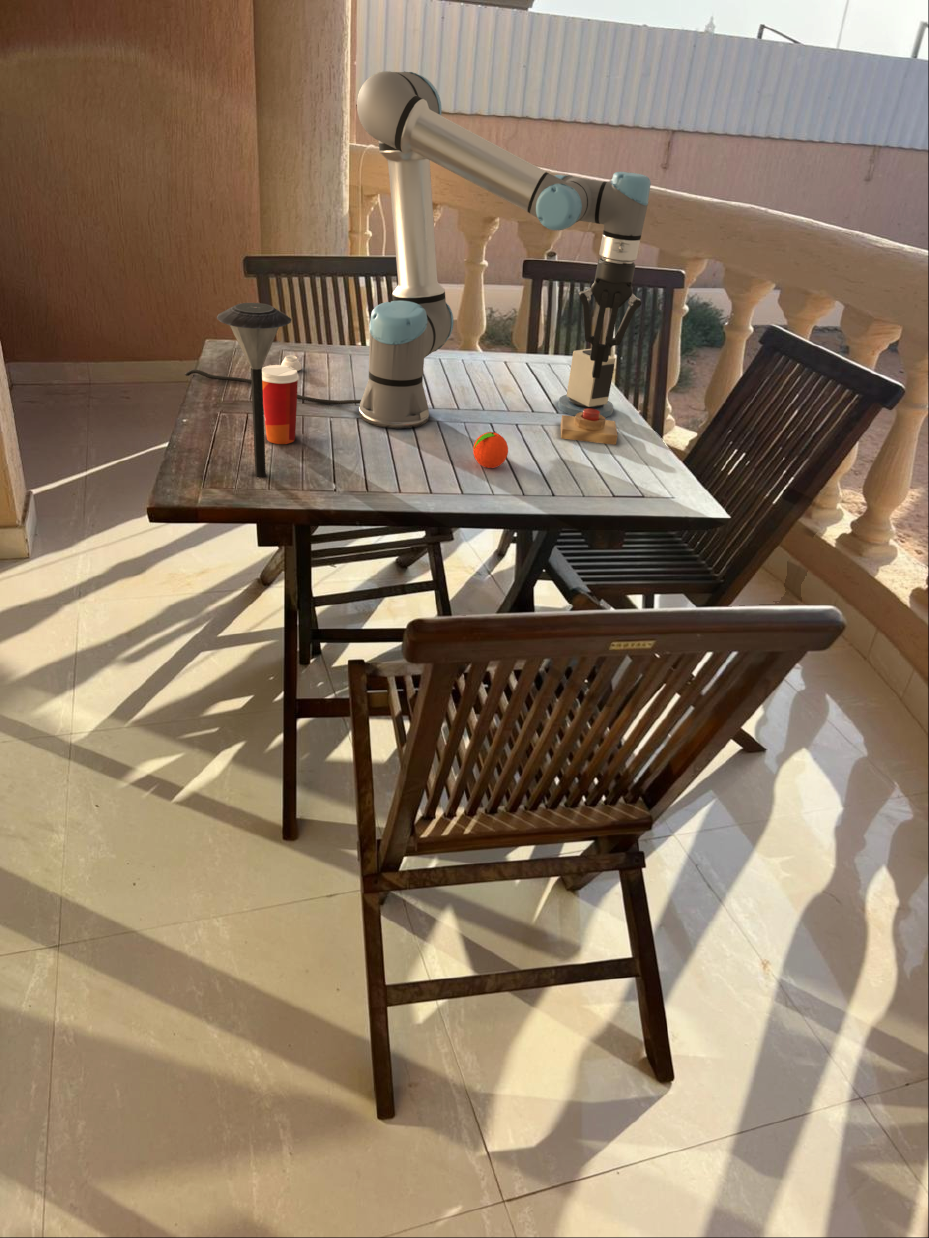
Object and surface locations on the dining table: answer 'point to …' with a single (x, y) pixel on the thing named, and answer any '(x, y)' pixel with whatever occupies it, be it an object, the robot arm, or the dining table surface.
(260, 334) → the solar garden light
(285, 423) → the paper cup
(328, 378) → the dining table surface
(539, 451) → the dining table surface
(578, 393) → the panel
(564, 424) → the button block
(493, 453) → the clementine
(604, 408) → the swivel base
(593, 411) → the button
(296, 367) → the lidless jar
